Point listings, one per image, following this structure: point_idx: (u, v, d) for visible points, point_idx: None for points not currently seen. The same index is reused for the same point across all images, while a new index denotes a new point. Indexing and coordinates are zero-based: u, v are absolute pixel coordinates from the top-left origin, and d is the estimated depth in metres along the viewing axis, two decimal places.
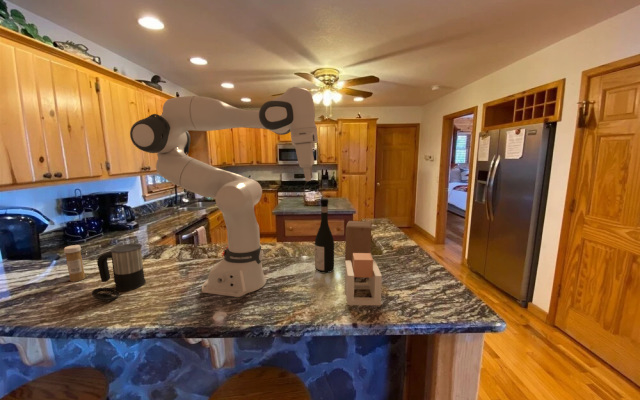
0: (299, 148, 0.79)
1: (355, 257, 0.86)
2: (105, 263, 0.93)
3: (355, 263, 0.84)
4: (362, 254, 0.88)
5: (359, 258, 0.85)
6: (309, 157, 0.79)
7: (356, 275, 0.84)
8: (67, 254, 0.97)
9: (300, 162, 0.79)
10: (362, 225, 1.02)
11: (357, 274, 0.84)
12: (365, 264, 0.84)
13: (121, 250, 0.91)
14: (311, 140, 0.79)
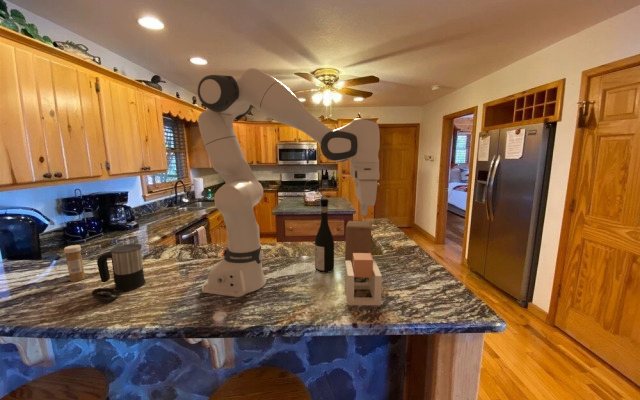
0: (364, 186, 0.73)
1: (355, 257, 0.86)
2: (105, 264, 0.93)
3: (355, 263, 0.84)
4: (362, 254, 0.88)
5: (359, 258, 0.85)
6: (374, 196, 0.73)
7: (356, 275, 0.84)
8: (67, 254, 0.97)
9: (364, 201, 0.73)
10: (362, 225, 1.02)
11: (357, 274, 0.84)
12: (365, 264, 0.84)
13: (121, 250, 0.91)
14: (378, 178, 0.74)
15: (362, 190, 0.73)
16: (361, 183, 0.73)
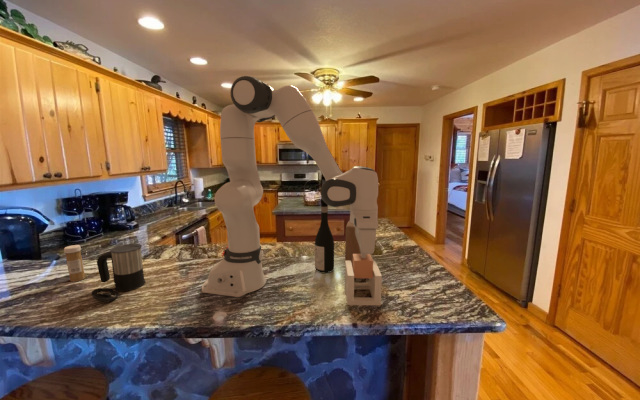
0: (363, 235, 0.75)
1: (355, 258, 0.86)
2: (105, 264, 0.93)
3: (355, 264, 0.84)
4: None
5: (359, 259, 0.85)
6: (373, 245, 0.75)
7: (356, 276, 0.84)
8: (67, 254, 0.97)
9: (363, 249, 0.76)
10: None
11: (357, 275, 0.84)
12: (365, 265, 0.84)
13: (121, 250, 0.91)
14: (376, 227, 0.76)
15: (361, 239, 0.75)
16: (360, 232, 0.76)
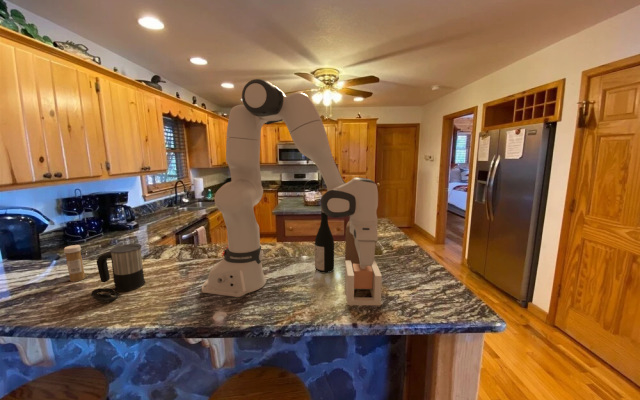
0: (363, 247, 0.76)
1: (355, 268, 0.86)
2: (105, 264, 0.93)
3: (355, 274, 0.84)
4: None
5: (359, 269, 0.85)
6: (372, 257, 0.76)
7: (356, 286, 0.85)
8: (67, 254, 0.97)
9: (362, 261, 0.76)
10: None
11: (357, 285, 0.85)
12: (364, 275, 0.84)
13: (121, 250, 0.91)
14: (376, 239, 0.77)
15: (361, 251, 0.76)
16: (360, 244, 0.76)
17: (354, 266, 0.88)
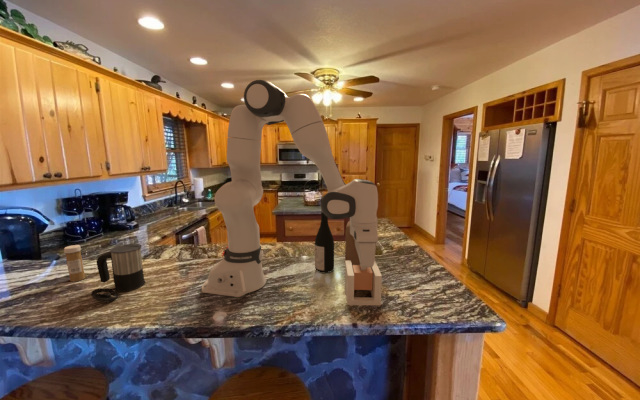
0: (363, 249, 0.76)
1: (355, 270, 0.86)
2: (104, 264, 0.93)
3: (355, 276, 0.85)
4: None
5: (359, 271, 0.85)
6: (373, 259, 0.76)
7: (356, 288, 0.85)
8: (67, 254, 0.97)
9: (363, 263, 0.76)
10: None
11: (357, 287, 0.85)
12: (364, 277, 0.84)
13: (120, 250, 0.91)
14: (376, 241, 0.77)
15: (361, 253, 0.76)
16: (360, 246, 0.76)
17: (354, 267, 0.88)
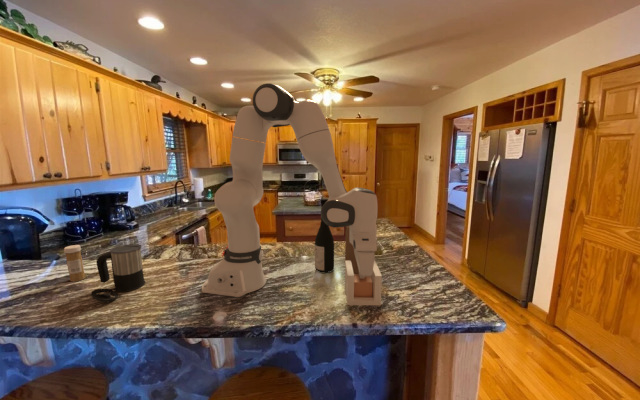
0: (362, 258, 0.77)
1: (355, 279, 0.87)
2: (104, 264, 0.93)
3: (355, 285, 0.85)
4: None
5: (359, 280, 0.86)
6: (371, 268, 0.77)
7: None
8: (67, 254, 0.97)
9: (362, 272, 0.77)
10: None
11: (357, 296, 0.86)
12: (364, 286, 0.85)
13: (120, 251, 0.90)
14: (375, 250, 0.77)
15: (360, 262, 0.77)
16: (359, 255, 0.77)
17: (354, 277, 0.89)
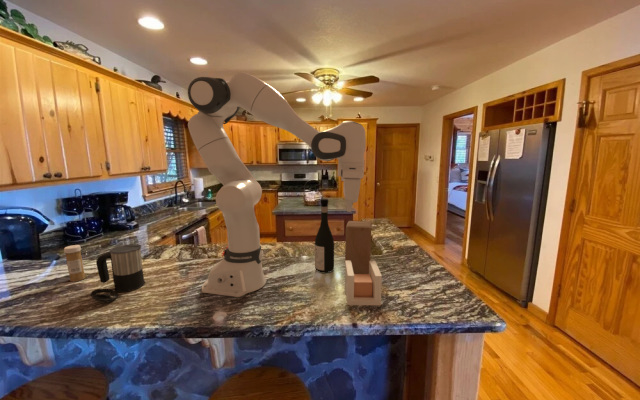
0: (348, 184, 0.80)
1: (355, 279, 0.87)
2: (104, 264, 0.93)
3: (355, 285, 0.85)
4: (362, 275, 0.89)
5: (359, 280, 0.86)
6: (357, 194, 0.80)
7: None
8: (67, 254, 0.97)
9: (347, 197, 0.80)
10: (362, 225, 1.02)
11: (357, 296, 0.86)
12: (364, 286, 0.85)
13: (120, 251, 0.90)
14: (361, 177, 0.80)
15: (346, 187, 0.80)
16: (345, 181, 0.80)
17: (354, 277, 0.89)
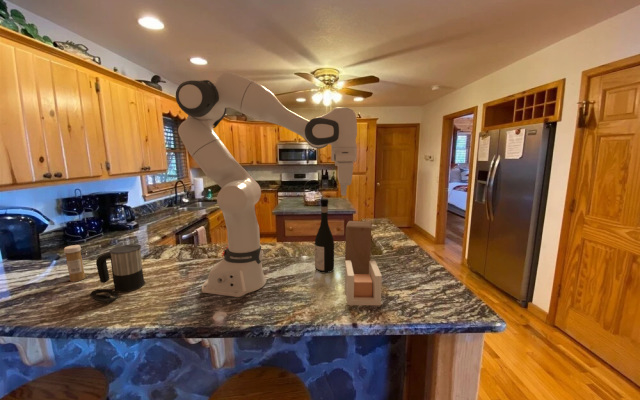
0: (341, 167, 0.82)
1: (355, 279, 0.87)
2: (104, 264, 0.92)
3: (355, 285, 0.85)
4: (362, 275, 0.89)
5: (359, 280, 0.86)
6: (350, 176, 0.82)
7: None
8: (67, 254, 0.97)
9: (341, 180, 0.82)
10: (362, 225, 1.02)
11: (357, 296, 0.86)
12: (364, 286, 0.85)
13: (120, 251, 0.90)
14: (353, 160, 0.83)
15: (339, 171, 0.82)
16: (339, 164, 0.83)
17: (354, 277, 0.89)
